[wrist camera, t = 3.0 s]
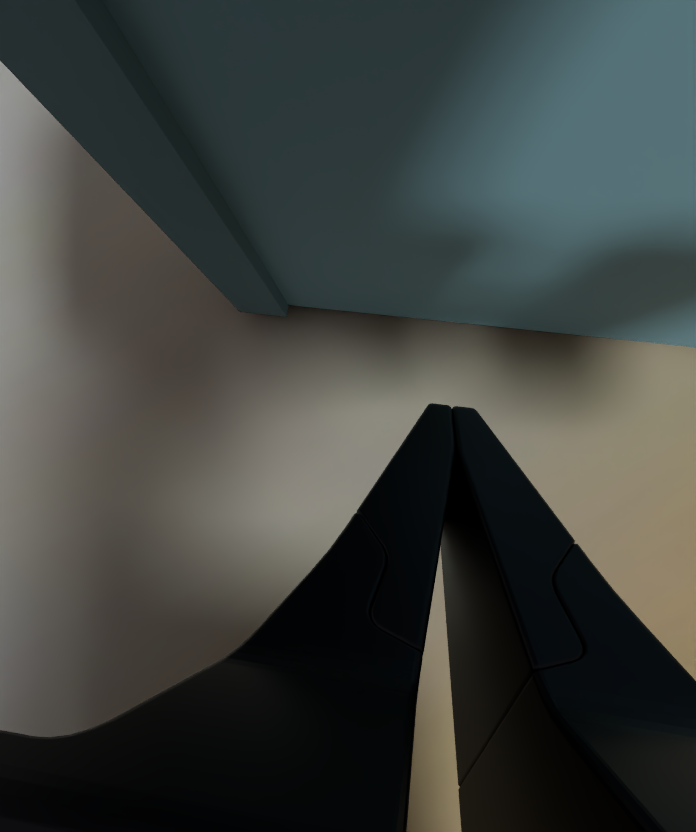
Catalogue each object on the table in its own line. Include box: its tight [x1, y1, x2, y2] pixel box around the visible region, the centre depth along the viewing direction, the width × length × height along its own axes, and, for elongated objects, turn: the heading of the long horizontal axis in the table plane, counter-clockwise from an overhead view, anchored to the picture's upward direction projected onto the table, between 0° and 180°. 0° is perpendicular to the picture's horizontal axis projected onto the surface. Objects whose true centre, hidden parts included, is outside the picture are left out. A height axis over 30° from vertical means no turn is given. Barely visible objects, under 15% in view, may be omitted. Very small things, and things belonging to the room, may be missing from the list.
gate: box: [0, 0, 696, 347], centre depth 9 cm, size 16×2×13 cm, turn 83°
